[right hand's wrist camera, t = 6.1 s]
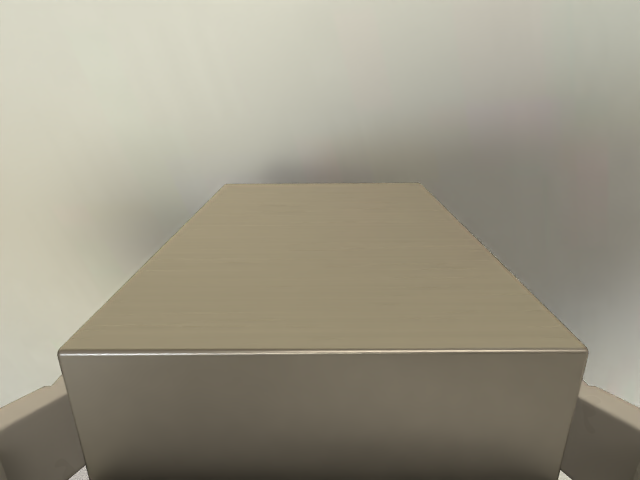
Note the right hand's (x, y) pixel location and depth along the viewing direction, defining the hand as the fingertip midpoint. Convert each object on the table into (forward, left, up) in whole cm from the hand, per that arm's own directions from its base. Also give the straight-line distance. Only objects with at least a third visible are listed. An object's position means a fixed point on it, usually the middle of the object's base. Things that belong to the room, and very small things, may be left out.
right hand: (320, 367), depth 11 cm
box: (0, +10, -5) cm, 11 cm away
